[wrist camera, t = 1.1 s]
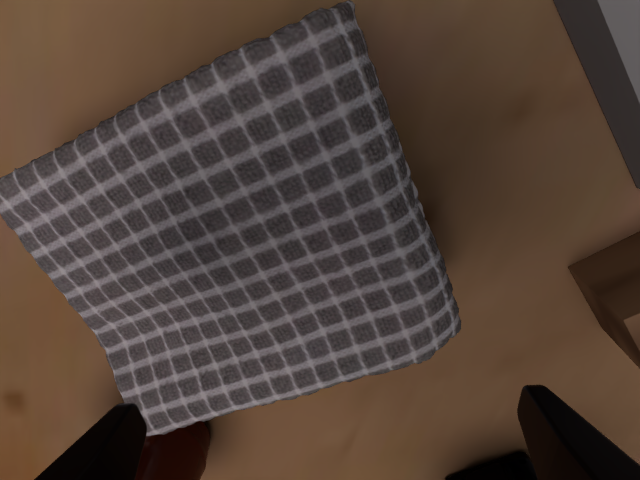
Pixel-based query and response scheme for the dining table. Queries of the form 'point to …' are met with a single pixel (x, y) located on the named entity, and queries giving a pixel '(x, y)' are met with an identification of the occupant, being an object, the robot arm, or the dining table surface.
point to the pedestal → (611, 64)
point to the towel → (243, 230)
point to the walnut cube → (614, 291)
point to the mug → (175, 454)
